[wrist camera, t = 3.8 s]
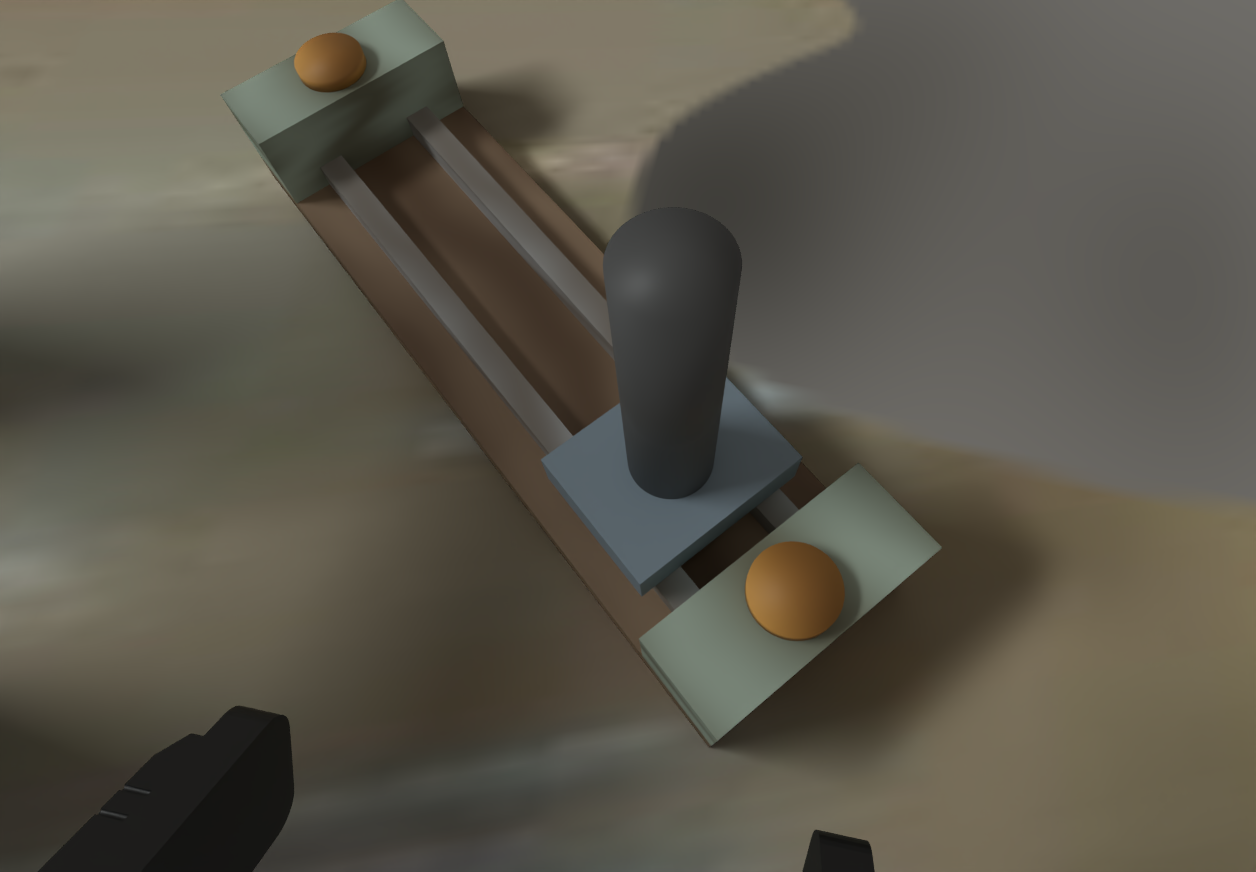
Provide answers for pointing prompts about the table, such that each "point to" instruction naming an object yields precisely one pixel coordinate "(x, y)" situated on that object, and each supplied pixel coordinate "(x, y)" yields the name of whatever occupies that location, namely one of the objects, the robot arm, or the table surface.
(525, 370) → the rail track
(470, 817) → the table surface
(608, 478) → the carriage
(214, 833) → the robot arm
